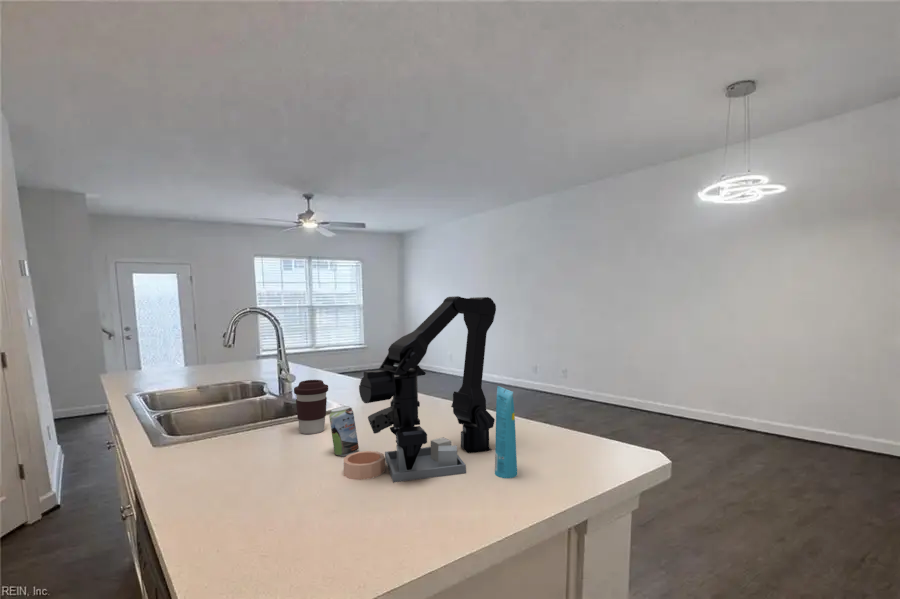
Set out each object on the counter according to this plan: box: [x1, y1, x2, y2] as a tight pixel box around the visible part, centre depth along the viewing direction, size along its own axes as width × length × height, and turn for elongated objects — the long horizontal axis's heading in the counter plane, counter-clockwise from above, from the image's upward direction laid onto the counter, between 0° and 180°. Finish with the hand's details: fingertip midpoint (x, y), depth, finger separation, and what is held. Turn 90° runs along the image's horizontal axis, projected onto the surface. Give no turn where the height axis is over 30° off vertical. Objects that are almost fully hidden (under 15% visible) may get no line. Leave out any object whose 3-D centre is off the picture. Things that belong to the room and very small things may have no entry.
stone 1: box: [396, 444, 417, 472], centre depth 101 cm, size 4×4×5 cm
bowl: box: [343, 450, 386, 481], centre depth 100 cm, size 9×9×4 cm
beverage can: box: [329, 405, 359, 457], centre depth 112 cm, size 6×7×12 cm
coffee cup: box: [293, 379, 329, 435], centre depth 133 cm, size 10×10×15 cm
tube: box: [494, 385, 518, 479], centre depth 97 cm, size 7×5×19 cm, turn 26°
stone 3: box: [438, 444, 458, 467], centre depth 100 cm, size 4×4×5 cm
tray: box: [384, 446, 467, 483], centre depth 102 cm, size 16×14×2 cm
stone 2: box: [430, 436, 452, 462], centre depth 106 cm, size 4×3×4 cm
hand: (406, 464), depth 101 cm, fingers open, 6 cm apart
